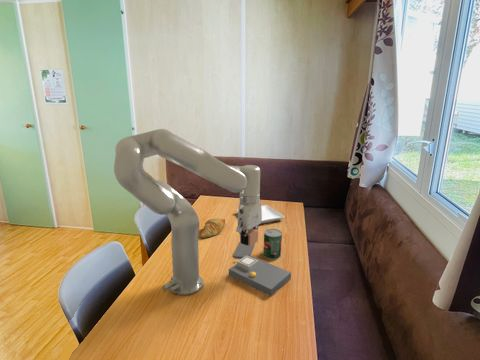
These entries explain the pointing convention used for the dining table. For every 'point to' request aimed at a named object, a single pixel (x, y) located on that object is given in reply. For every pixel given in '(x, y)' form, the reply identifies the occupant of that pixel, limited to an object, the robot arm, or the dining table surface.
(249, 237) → the block
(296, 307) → the dining table surface
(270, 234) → the canned tomato
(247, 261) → the button
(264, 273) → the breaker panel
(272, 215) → the salad plate
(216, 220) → the croissant
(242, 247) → the smartphone
